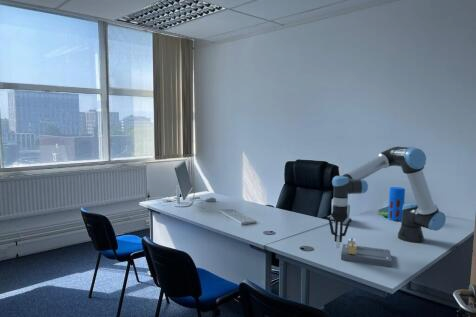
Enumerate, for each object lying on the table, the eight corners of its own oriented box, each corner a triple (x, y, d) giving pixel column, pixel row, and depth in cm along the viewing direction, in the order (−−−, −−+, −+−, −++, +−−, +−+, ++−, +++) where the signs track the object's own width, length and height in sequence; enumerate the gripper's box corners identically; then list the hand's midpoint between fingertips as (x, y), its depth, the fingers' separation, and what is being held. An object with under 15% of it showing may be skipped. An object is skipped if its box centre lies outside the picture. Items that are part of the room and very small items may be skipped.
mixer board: (389, 255, 196) (389, 249, 195) (391, 266, 179) (392, 261, 179) (342, 249, 204) (343, 243, 204) (340, 259, 187) (341, 254, 187)
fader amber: (356, 251, 190) (356, 244, 190) (356, 254, 186) (356, 246, 185) (348, 250, 192) (348, 243, 191) (348, 253, 187) (348, 245, 187)
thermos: (404, 221, 269) (406, 189, 266) (389, 220, 271) (391, 188, 268) (401, 218, 279) (402, 187, 277) (386, 217, 281) (388, 186, 279)
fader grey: (355, 245, 200) (355, 238, 200) (355, 248, 195) (355, 241, 195) (348, 244, 201) (348, 237, 201) (347, 247, 197) (348, 240, 196)
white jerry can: (351, 225, 254) (353, 191, 252) (340, 225, 254) (342, 191, 251) (340, 218, 276) (342, 186, 274) (330, 218, 275) (331, 186, 273)
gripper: (352, 204, 190) (350, 247, 192) (328, 202, 195) (326, 243, 197) (352, 207, 183) (350, 251, 185) (327, 205, 188) (324, 248, 190)
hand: (337, 247), depth 191 cm, fingers closed
